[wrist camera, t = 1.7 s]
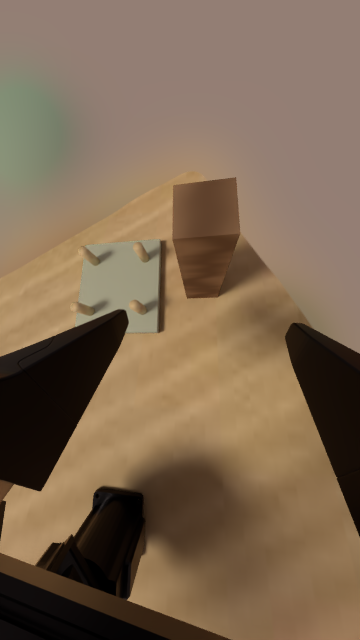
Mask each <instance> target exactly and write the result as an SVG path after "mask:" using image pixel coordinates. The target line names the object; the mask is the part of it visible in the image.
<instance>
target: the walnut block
mask: <svg viewBox="0 0 360 640" xmlns="http://www.w3.org/2000/svg"><path fill="white" fill-rule="evenodd" d="M239 236H240V224H239V212H238V198H237V183H236V177H235V178H228V179H220V180H212V181H204V182H196V183H188V184H180V185H173V243H174V247H175V251H176V255H177V259H178V263H179V268H180V272H181V276H182V280H183V284H184V288H185V292H186V296H187V298H212V297H218V294H219V291H220V288H221V286H222V283H223V280H224V277H225V275H226V272H227V269H228V266H229V263H230V261H231V258H232V255H233V252H234V249H235V247H236V244H237V241H238V238H239Z"/></svg>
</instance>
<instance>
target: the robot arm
mask: <svg viewBox="0 0 360 640" xmlns="http://www.w3.org/2000/svg"><path fill="white" fill-rule="evenodd" d="M128 325H129V320H128V316H127V312H126V310H124V309H117V310H115V311H112V312H110V313H108V314H105V315H103V316H101V317H98V318H96V319H93V320H91V321H89V322H86V323H84V324H81V325H79V326H77V327H74V328H72V329H69V330H67V331H65V332H62V333H60V334H57V335H56V336H53V337H50V338H48V339H45V340H43V341H40V342H38V343H36V344H33V345H30V346H28V347H25V348H23V349H20V350H17V351H15V352H12V353H9V354H6V355H4V356H1V357H0V539H1V532H2V525H3V518H4V511H5V505H6V501H3V499H4V498H5V496H6V495H7V493H8V492H9V491H10V489H11V488H12V486H13V485H14V484H16V485H19V486H23V487H26V488H30V489H33V490H37V491H41V490H42V488H43V487H44V485H45V483H46V482H47V480H48V478H49V476H50V474H51V472H52V471H53V469H54V467H55V465H56V463H57V461H58V459H59V458H60V456H61V454H62V452H63V450H64V448H65V447H66V445H67V443H68V441H69V439H70V437H71V436H72V434H73V432H74V430H75V428H76V426H77V424H78V422H79V421H80V419H81V417H82V415H83V413H84V411H85V409H86V408H87V406H88V404H89V402H90V400H91V398H92V397H93V395H94V393H95V391H96V389H97V387H98V385H99V384H100V382H101V380H102V378H103V376H104V374H105V373H106V371H107V369H108V367H109V365H110V363H111V362H112V360H113V358H114V356H115V354H116V352H117V350H118V349H119V347H120V344H121V342H122V340H123V337H124V335H125V332H126V330H127V327H128ZM285 340H286V344H287V348H288V352H289V356H290V360H291V363H292V366H293V369H294V372H295V374H296V377H297V379H298V382H299V384H300V387H301V389H302V392H303V394H304V397H305V399H306V402H307V404H308V407H309V409H310V412H311V415H312V417H313V420H314V422H315V425H316V427H317V430H318V432H319V435H320V437H321V440H322V442H323V445H324V447H325V450H326V452H327V455H328V457H329V460H330V463H331V465H332V468H333V470H334V473H335V475H336V477H337V481H338V483H339V486H340V488H341V491H342V493H343V496H344V498H345V501H346V503H347V506H348V508H349V511H350V513H351V516H352V518H353V521H354V524H355V526H356V529H357V531H358V534H359V536H360V354H359V353H357V352H355V351H353V350H351V349H350V348H348V347H346V346H344V345H342V344H340V343H338V342H337V341H335V340H333V339H331V338H329V337H327V336H325V335H323V334H322V333H320V332H318V331H316V330H314V329H312V328H310V327H308V326H307V325H305V324H303V323H292V324H291V325H290V327H289V329H288V331H287V333H286V336H285ZM98 494H99V495H98ZM138 499H140V500H141V501H139V500H138ZM143 505H144V497H143V495H142V494H140V493H132V492H124V491H116V490H108V489H100V488H99V489H97V490H96V491H95V493H94V496H93V507H92V510H91V512H90V513H89V515H88V516H87V518H86V519H85V521H84V522H83V524H82V525H81V527H80V528H79V530H78V532H77V533H76V535H75V536H74V537H73V535H72V534H71V535H70V536H69V537H68V539H67V540H66V541H65V542H63V543H52V544H51V545H50V546H49V547H48V549H47V550H46V551H45V553H44V554H43V555H42V557H41V558H40V559H39V561H38V562H37V563H36V565H35V566H34V565H31V564H28V563H26V562H23V561H20V560H18V559H15V558H12V557H10V556H7V555H4V554H2V553H0V640H231V639H228V638H226V637H223V636H220V635H218V634H215V633H212V632H210V631H207V630H204V629H202V628H199V627H196V626H194V625H191V624H188V623H186V622H183V621H180V620H178V619H175V618H172V617H170V616H167V615H164V614H162V613H159V612H156V611H154V610H151V609H148V608H146V607H143V606H140V605H138V604H135V603H132V602H130V601H127V599H128V598H129V597H130V594H131V590H132V587H133V583H134V580H135V576H136V573H137V569H138V565H139V562H140V558H141V555H142V551H143V547H144V538H145V519H144V517H143Z"/></svg>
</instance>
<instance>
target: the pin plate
mask: <svg viewBox="0 0 360 640" xmlns="http://www.w3.org/2000/svg"><path fill="white" fill-rule="evenodd" d="M78 253H79V255H81V256H82V257H83V258H84V261H83V269H82V277H81V285H80V292H79V300H78V302H73V303H72V304H71V310H72V311H74V312H77V316H76V324H75V327H77V326H79V325H81V324H84V323H86V322H89V321H91V320H93V319H96V318H98V317H101V316H103V315H105V314H108V313H110V312H112V311H115V310H117V309H124V310H126V312H127V316H128V320H129V325H128V327H127V330H126V332H125V333H159V309H160V275H161V240H160V239H153V240H141V241H129V242H117V243H105V244H93V245H85V247H84V246H83V247H80V248H79V250H78Z"/></svg>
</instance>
